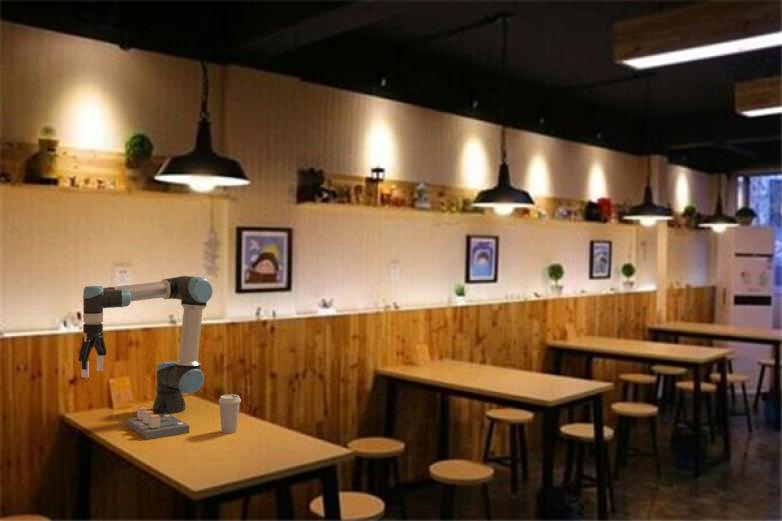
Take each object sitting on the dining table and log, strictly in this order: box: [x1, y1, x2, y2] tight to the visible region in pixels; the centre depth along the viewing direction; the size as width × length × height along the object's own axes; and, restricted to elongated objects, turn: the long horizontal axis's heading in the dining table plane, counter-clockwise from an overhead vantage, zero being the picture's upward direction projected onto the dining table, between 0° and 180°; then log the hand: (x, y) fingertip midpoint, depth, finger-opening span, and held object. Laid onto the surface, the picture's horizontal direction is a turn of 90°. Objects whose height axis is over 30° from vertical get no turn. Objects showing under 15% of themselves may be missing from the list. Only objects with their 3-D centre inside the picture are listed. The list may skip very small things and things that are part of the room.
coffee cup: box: [217, 393, 242, 434], centre depth 296 cm, size 10×10×15 cm
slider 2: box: [149, 413, 160, 428], centre depth 288 cm, size 3×4×5 cm
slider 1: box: [136, 406, 148, 420], centre depth 301 cm, size 3×4×5 cm
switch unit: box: [126, 413, 190, 440], centre depth 297 cm, size 18×26×3 cm
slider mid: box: [143, 409, 155, 424], centre depth 294 cm, size 3×4×5 cm
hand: (92, 374), depth 287 cm, fingers open, 13 cm apart
